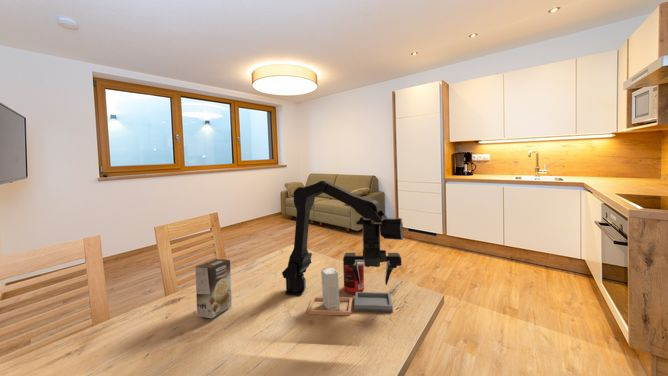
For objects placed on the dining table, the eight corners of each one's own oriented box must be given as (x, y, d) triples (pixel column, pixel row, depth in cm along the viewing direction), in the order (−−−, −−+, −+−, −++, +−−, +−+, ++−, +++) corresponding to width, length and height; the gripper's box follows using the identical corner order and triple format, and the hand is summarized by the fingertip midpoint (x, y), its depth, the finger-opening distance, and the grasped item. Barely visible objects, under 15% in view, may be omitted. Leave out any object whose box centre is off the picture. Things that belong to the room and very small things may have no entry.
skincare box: (340, 309, 89) (339, 272, 88) (327, 312, 87) (326, 274, 87) (334, 301, 94) (333, 267, 94) (321, 303, 93) (320, 268, 93)
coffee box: (212, 319, 85) (210, 268, 84) (196, 316, 87) (194, 266, 87) (232, 305, 94) (230, 259, 93) (217, 303, 96) (215, 258, 95)
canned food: (364, 285, 107) (363, 258, 107) (364, 294, 99) (363, 264, 99) (344, 285, 108) (343, 258, 108) (343, 294, 100) (342, 264, 100)
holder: (306, 314, 86) (306, 310, 86) (313, 299, 97) (313, 296, 97) (350, 315, 85) (350, 312, 85) (352, 300, 95) (352, 297, 95)
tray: (354, 311, 87) (354, 304, 87) (355, 297, 97) (355, 291, 97) (392, 312, 86) (392, 305, 86) (390, 298, 96) (389, 292, 96)
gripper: (341, 243, 84) (342, 293, 84) (403, 243, 82) (404, 295, 82) (344, 236, 95) (345, 280, 95) (398, 235, 93) (399, 281, 93)
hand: (372, 284), depth 91 cm, fingers open, 9 cm apart
